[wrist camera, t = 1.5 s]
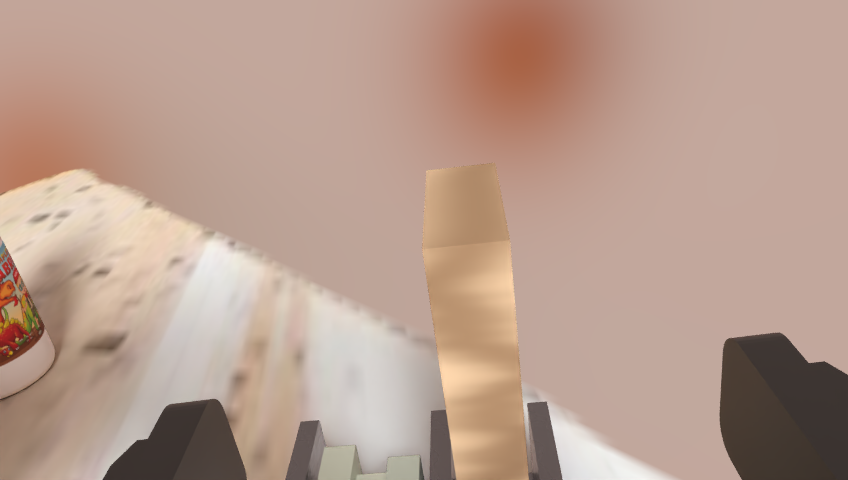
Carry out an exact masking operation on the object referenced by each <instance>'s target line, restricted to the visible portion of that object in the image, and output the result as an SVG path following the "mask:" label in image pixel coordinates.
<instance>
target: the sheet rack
mask: <svg viewBox="0 0 848 480" xmlns="http://www.w3.org/2000/svg"><path fill="white" fill-rule="evenodd" d="M527 407H528V420H529V433H530V447H531V460H532V473H528V476H529V480H563V479H562V475H561V470H560V465H559V460H558V455H557V450H556V445H555V440H554V435H553V430H552V425H551V420H550V415H549V410H548V406H547V402H536V403H527ZM324 447H326V444H325V440H324V437H323V433H322V429H321V425H320V422H319V420H317V421H305V422H301V423H300V427H299V430H298V434H297V438H296V442H295V445H294V449H293V453H292V457H291V461H290V464H289V468H288V472H287V476H286V479H285V480H318V475H319V470H320V466H321V461H322V456H323V451H324ZM430 480H456V473H455V467H454V460H453V453H452V446H451V440H450V433H449V426H448V419H447V413H446V410H438V411H431V451H430Z"/></svg>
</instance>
